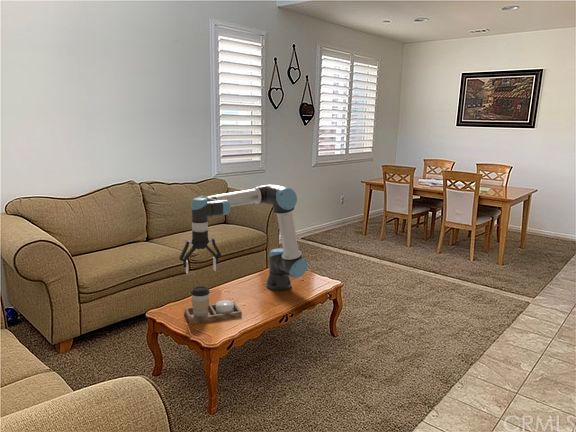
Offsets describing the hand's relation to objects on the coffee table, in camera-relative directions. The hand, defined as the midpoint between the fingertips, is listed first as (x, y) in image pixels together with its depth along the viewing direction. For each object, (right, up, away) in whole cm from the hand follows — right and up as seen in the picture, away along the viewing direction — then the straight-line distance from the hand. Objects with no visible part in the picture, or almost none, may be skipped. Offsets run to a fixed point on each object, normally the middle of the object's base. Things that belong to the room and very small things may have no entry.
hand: (200, 272), depth 217 cm
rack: (+5, -23, +7) cm, 25 cm away
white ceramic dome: (+10, -22, +9) cm, 26 cm away
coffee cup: (-1, -23, +5) cm, 24 cm away
